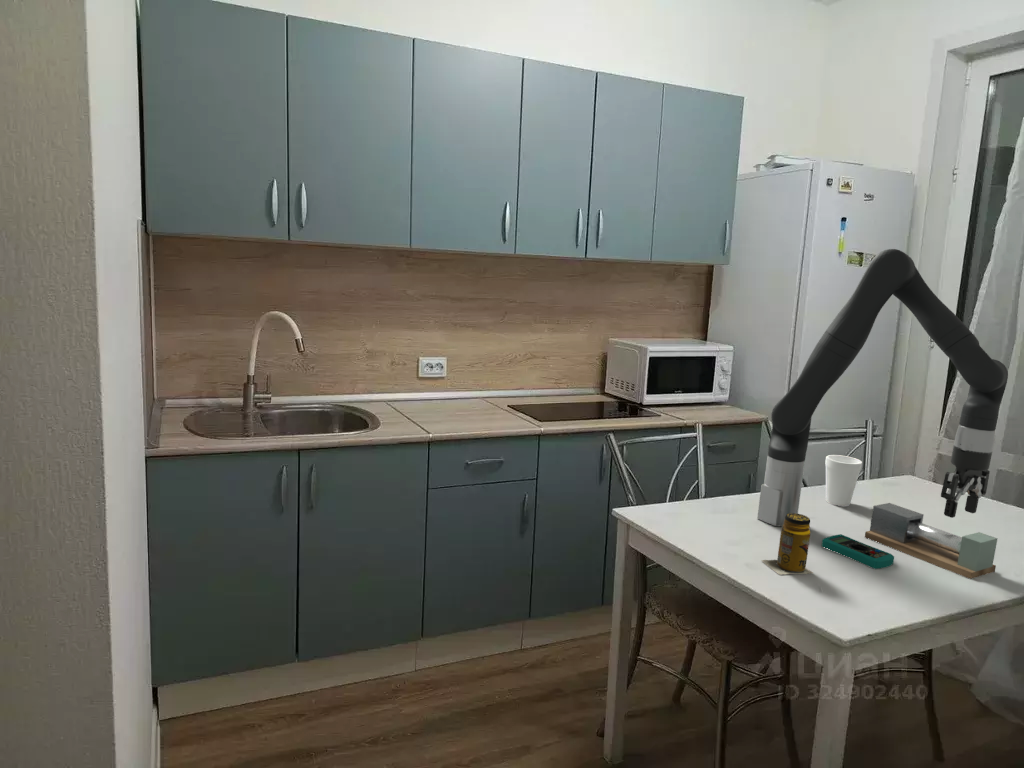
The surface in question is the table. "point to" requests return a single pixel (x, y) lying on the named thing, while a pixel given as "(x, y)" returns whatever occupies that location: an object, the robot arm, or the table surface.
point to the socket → (977, 551)
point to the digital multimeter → (858, 551)
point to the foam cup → (841, 478)
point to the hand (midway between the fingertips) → (959, 514)
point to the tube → (934, 536)
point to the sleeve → (893, 522)
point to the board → (930, 555)
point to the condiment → (792, 546)
